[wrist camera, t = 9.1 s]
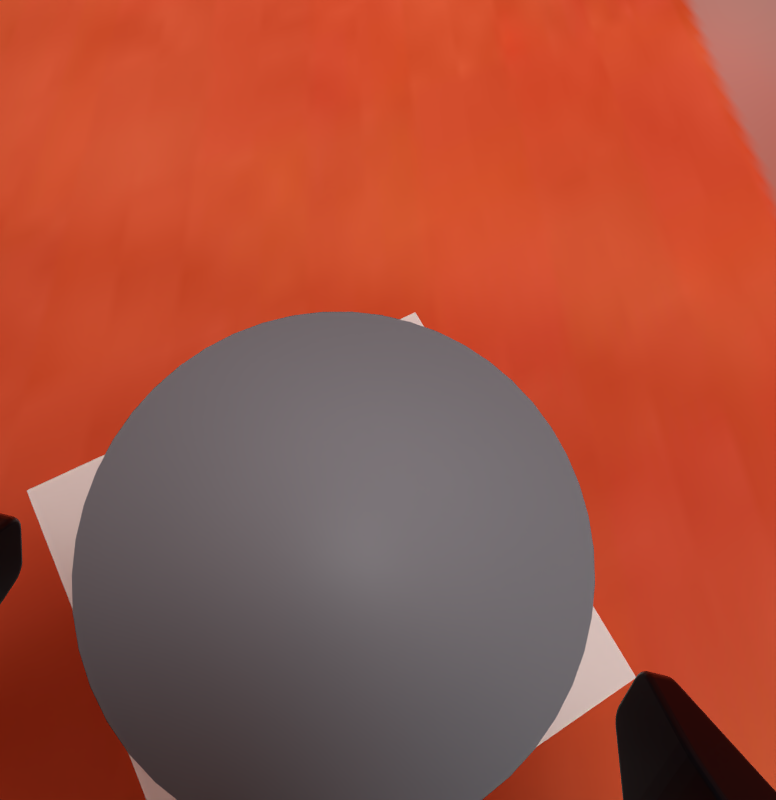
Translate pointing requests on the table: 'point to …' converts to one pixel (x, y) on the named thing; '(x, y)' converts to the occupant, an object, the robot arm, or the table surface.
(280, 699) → the slate post
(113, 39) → the table surface
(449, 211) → the table surface
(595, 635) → the seat board
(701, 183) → the table surface
